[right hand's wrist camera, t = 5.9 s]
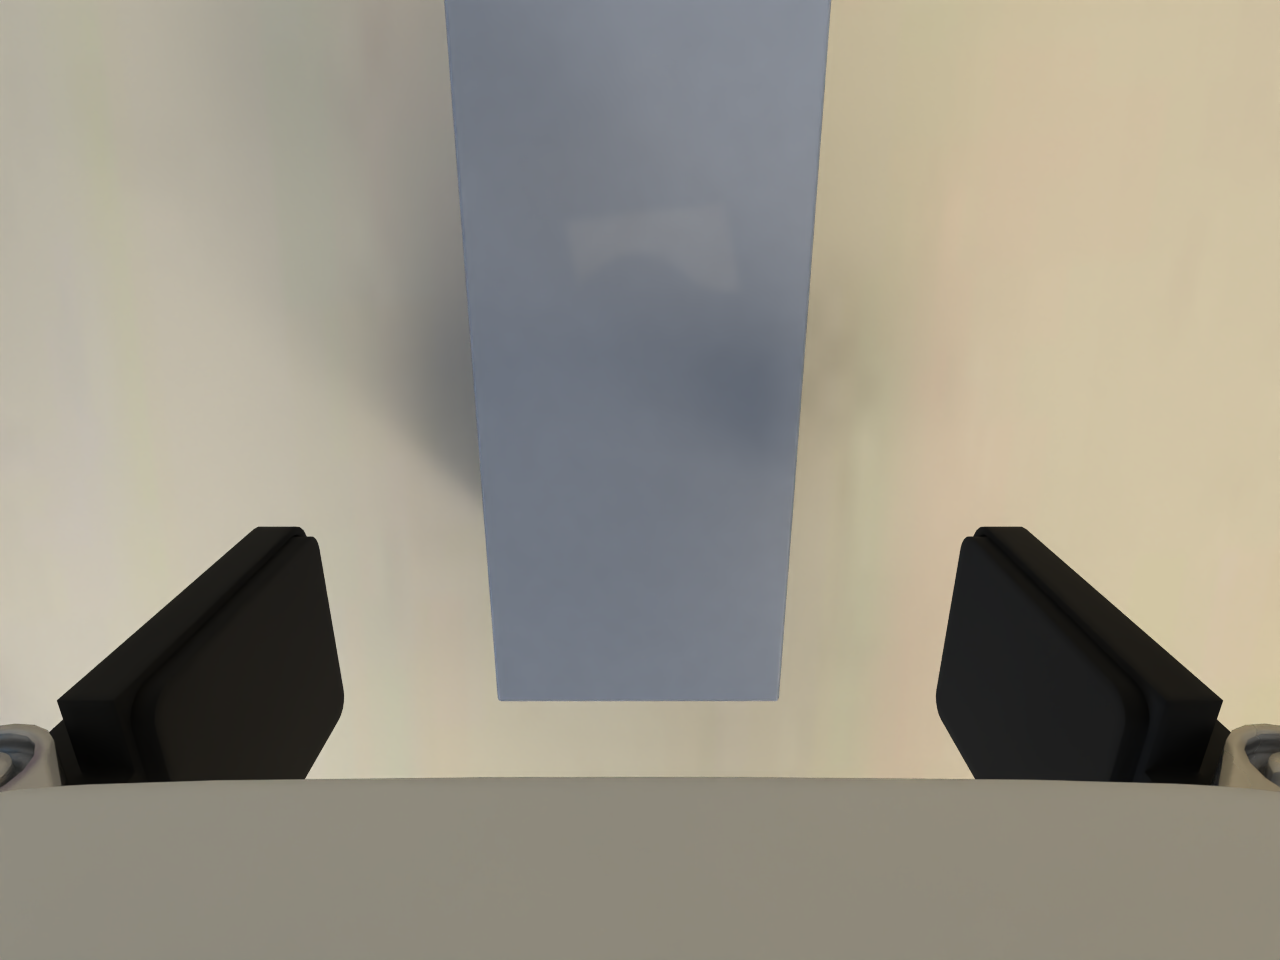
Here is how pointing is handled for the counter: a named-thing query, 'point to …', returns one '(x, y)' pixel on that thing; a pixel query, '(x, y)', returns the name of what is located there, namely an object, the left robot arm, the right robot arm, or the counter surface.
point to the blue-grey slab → (638, 331)
